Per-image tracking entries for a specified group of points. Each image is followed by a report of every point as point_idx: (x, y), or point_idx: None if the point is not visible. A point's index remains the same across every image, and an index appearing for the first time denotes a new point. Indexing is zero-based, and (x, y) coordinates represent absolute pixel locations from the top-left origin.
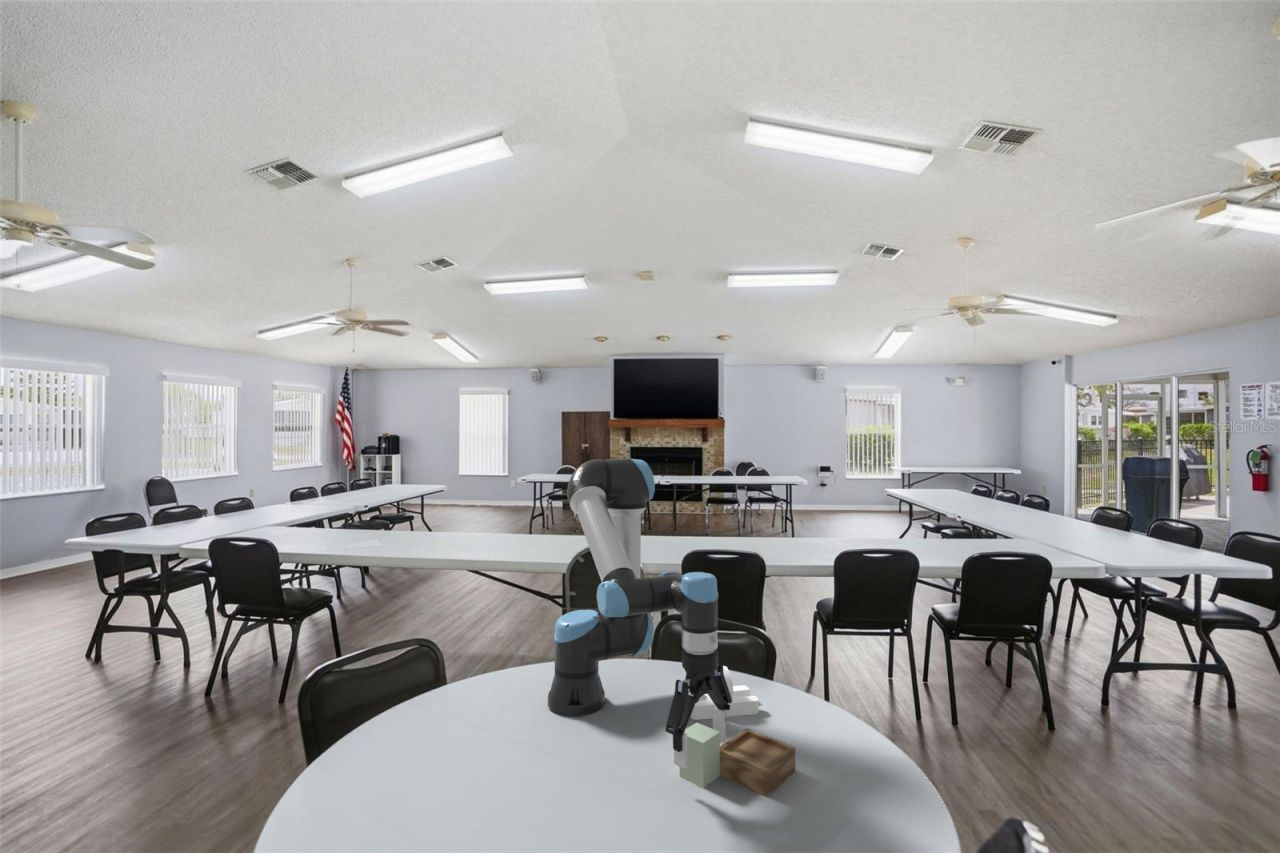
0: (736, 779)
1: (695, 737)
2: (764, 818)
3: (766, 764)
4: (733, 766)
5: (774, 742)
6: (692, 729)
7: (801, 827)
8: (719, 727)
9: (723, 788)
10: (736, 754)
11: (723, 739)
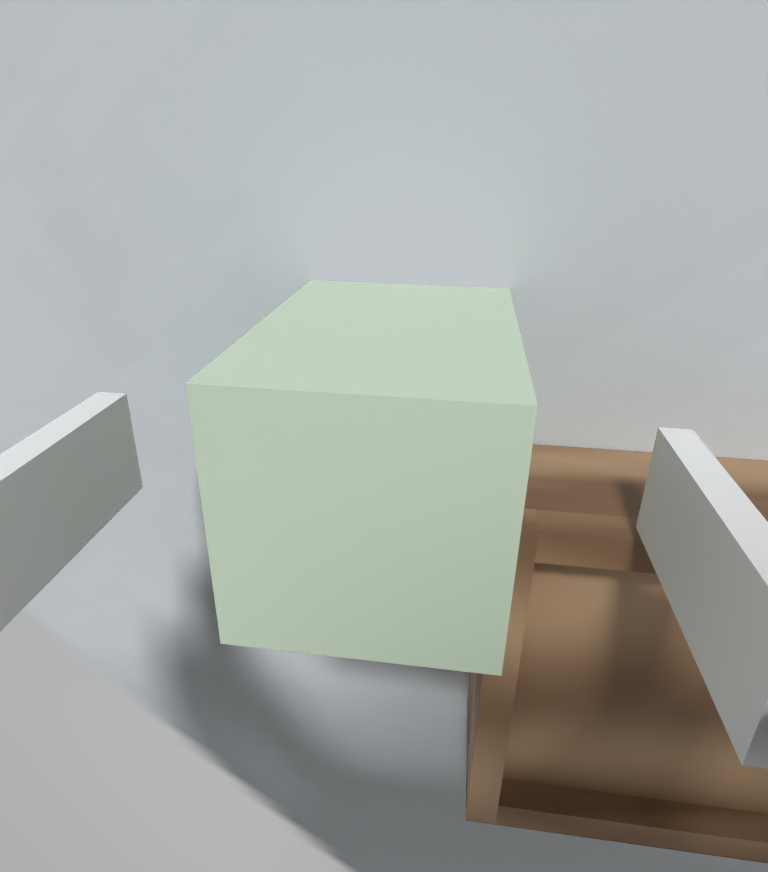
0: None
1: (244, 553)
2: (328, 729)
3: (579, 767)
4: None
5: None
6: (355, 452)
7: (377, 823)
8: (681, 565)
9: None
10: (584, 610)
11: (645, 541)
